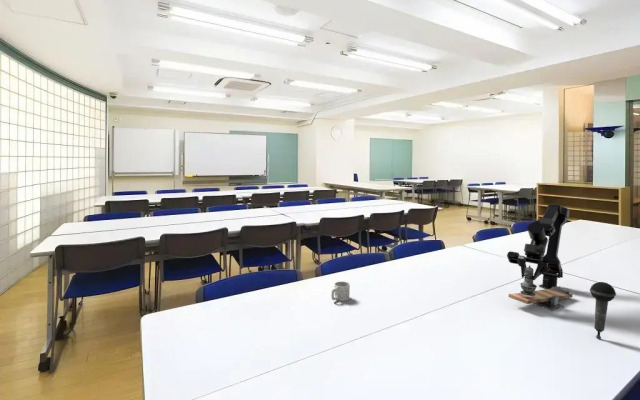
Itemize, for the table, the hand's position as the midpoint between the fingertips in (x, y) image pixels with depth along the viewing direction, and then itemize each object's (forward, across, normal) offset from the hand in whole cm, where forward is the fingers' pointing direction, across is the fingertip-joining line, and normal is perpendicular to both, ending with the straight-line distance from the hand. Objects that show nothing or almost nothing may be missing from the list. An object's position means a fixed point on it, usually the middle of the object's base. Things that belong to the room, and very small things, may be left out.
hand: (527, 278), depth 137 cm
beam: (-2, +2, +16) cm, 16 cm away
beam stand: (+1, +2, +18) cm, 18 cm away
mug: (+43, -60, -25) cm, 78 cm away
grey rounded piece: (+4, 0, +6) cm, 7 cm away
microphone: (+15, +24, +4) cm, 29 cm away
